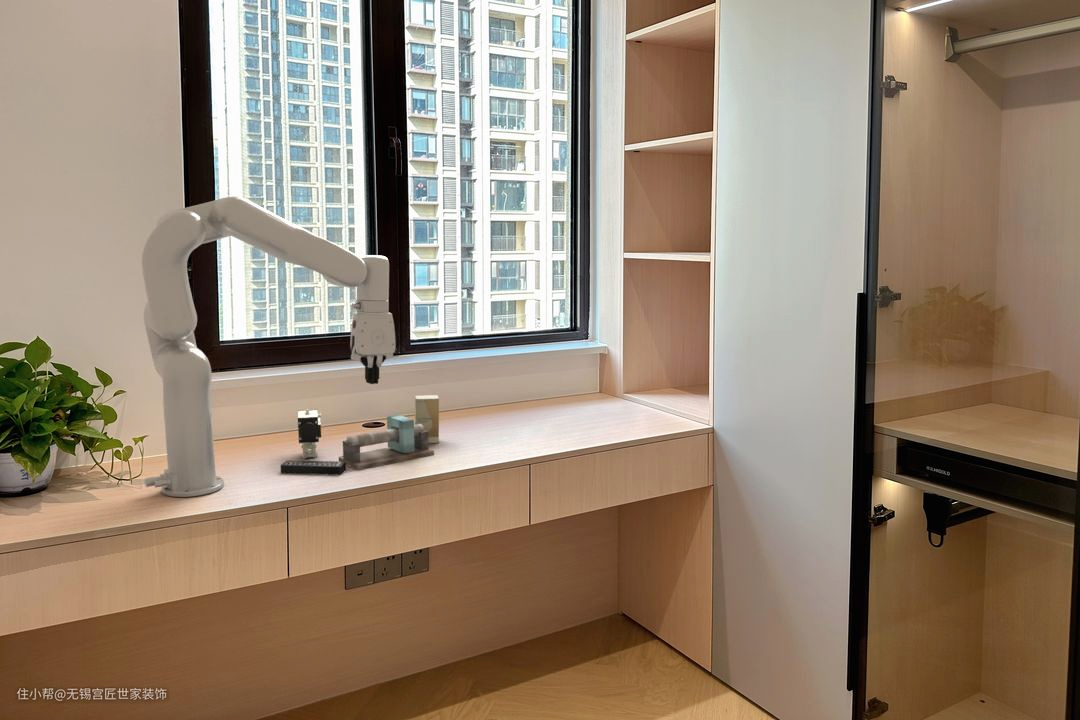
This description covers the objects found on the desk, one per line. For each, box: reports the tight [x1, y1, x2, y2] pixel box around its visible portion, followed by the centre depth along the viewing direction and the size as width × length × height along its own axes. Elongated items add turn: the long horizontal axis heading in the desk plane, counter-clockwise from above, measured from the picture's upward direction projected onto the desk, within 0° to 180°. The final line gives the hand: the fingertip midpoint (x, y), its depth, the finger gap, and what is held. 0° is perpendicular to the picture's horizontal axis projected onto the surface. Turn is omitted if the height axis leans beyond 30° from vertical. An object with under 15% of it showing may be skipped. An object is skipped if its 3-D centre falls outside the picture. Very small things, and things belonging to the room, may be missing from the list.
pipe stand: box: [338, 424, 435, 471], centre depth 207 cm, size 21×10×7 cm, turn 129°
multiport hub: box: [279, 459, 347, 476], centre depth 197 cm, size 4×14×2 cm, turn 85°
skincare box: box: [414, 394, 440, 444], centre depth 222 cm, size 6×4×12 cm
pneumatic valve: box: [297, 408, 322, 460], centre depth 208 cm, size 6×12×12 cm, turn 15°
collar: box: [386, 413, 415, 453], centre depth 210 cm, size 3×8×8 cm, turn 39°
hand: (372, 382), depth 203 cm, fingers closed
